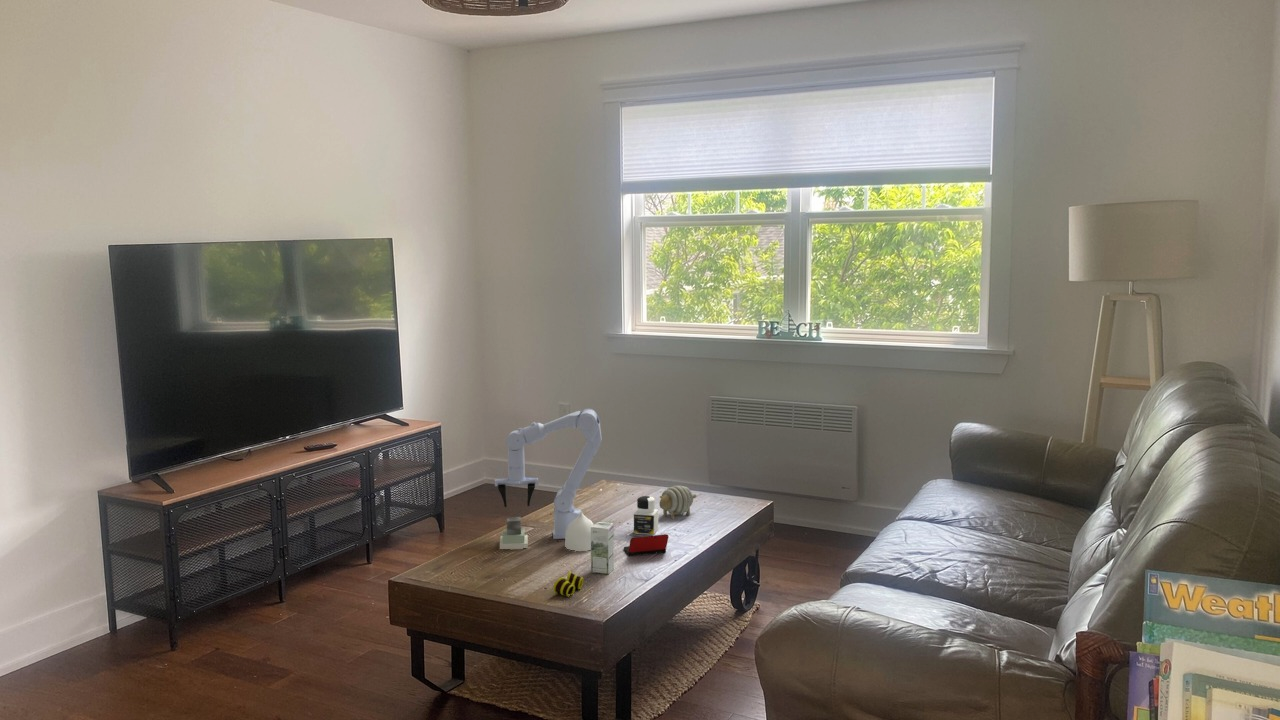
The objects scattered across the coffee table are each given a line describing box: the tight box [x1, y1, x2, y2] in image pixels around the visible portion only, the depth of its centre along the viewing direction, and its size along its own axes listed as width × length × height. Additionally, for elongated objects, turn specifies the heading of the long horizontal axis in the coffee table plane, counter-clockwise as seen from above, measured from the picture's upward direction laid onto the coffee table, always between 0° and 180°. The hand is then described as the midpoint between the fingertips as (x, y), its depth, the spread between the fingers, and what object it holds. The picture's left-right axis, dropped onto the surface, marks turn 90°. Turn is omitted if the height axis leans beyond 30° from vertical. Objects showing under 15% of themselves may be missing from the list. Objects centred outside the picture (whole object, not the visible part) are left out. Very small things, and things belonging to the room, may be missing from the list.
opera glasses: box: [552, 570, 584, 598], centre depth 253 cm, size 10×5×5 cm, turn 157°
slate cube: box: [506, 516, 522, 535], centre depth 294 cm, size 4×4×4 cm
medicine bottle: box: [633, 495, 659, 536], centre depth 308 cm, size 7×7×12 cm
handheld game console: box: [623, 533, 669, 557], centre depth 286 cm, size 12×11×7 cm
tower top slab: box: [501, 528, 526, 544], centre depth 294 cm, size 7×7×2 cm
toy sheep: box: [658, 485, 697, 519], centre depth 326 cm, size 11×17×11 cm, turn 133°
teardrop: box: [564, 510, 594, 552], centre depth 292 cm, size 11×11×12 cm
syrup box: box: [590, 521, 615, 575], centre depth 269 cm, size 6×6×14 cm
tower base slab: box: [499, 534, 529, 550], centre depth 294 cm, size 9×9×2 cm
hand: (517, 505), depth 303 cm, fingers open, 7 cm apart
